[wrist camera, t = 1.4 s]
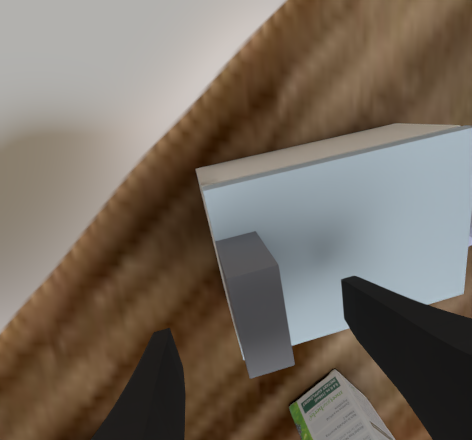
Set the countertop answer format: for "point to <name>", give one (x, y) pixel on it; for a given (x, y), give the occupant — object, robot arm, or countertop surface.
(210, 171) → the carton
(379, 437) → the syrup box
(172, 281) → the countertop surface
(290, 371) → the countertop surface
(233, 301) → the carton lid
